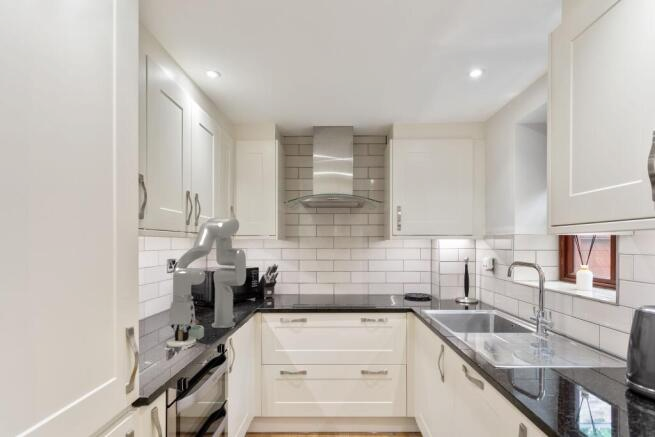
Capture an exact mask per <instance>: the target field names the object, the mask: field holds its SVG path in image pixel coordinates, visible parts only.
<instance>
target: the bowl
mask: <svg viewBox="0 0 655 437" xmlns="http://www.w3.org/2000/svg"><path fill="white" fill-rule="evenodd" d="M181 329H184V326H183V327H182V326H180V329H179V330H181ZM189 336H192V337H195V338H196V339H198V340H200V339H202V338H204V336H205V327H204V326H203V325H200V324H196V325H195V326H194V327H192V328H191V329H190V330H189Z"/></svg>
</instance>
